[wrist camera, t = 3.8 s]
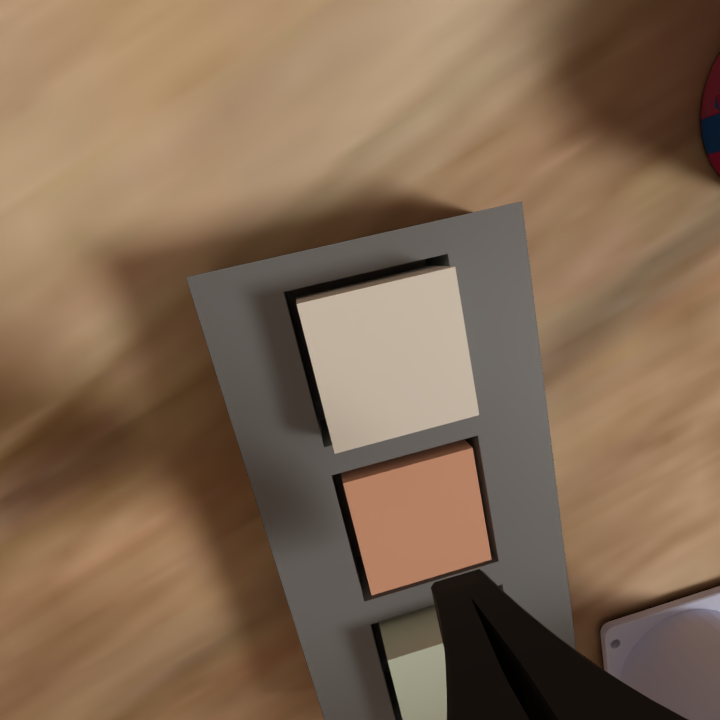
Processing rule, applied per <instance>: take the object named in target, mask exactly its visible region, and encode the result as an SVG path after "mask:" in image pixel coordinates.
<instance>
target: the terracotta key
mask: <svg viewBox="0 0 720 720" xmlns="http://www.w3.org/2000/svg"><path fill="white" fill-rule="evenodd" d="M341 477H342V481H343V485H344V489H345V493H346V497H347V501H348V505H349V509H350V513H351V517H352V521H353V525H354V529H355V532H356V536H357V540H358V544H359V548H360V552H361V556H362V560H363V564H364V568H365V572H366V576H367V580H368V583H369V587H370V591H371V595H375V594H378V593H382V592H385V591H388V590H392V589H395V588H398V587H402V586H405V585H408V584H412V583H415V582H418V581H422V580H425V579H428V578H432V577H435V576H438V575H442V574H445V573H448V572H452V571H455V570H458V569H462V568H465V567H468V566H472V565H475V564H478V563H482V562H485V561H488V560H492V559H491V553H490V547H489V541H488V535H487V530H486V524H485V518H484V512H483V506H482V500H481V494H480V488H479V482H478V477H477V471H476V465H475V459H474V453H473V448H472V447H471V446H470V445H469V443H468V442H467V441H466V440H465V439H463V440H459V441H456V442H452V443H448V444H445V445H441V446H437V447H434V448H430V449H426V450H423V451H419V452H415V453H412V454H408V455H404V456H401V457H397V458H393V459H390V460H386V461H382V462H379V463H375V464H371V465H368V466H364V467H360V468H357V469H353V470H349V471H346V472H342V473H341Z"/></svg>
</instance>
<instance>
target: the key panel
mask: <svg viewBox="0 0 720 720" xmlns="http://www.w3.org/2000/svg"><path fill="white" fill-rule="evenodd" d="M427 266H453V267H455V268H456V274H457V280H458V287H459V293H460V299H461V305H462V311H463V317H464V323H465V330H466V336H467V342H468V348H469V354H470V360H471V367H472V373H473V379H474V385H475V391H476V397H477V404H478V410H479V415H478V416H474V417H470V418H467V419H463V420H459V421H455V422H452V423H448V424H444V425H441V426H437V427H433V428H429V429H426V430H422V431H418V432H414V433H411V434H407V435H403V436H400V437H396V438H392V439H388V440H385V441H381V442H377V443H374V444H370V445H366V446H362V447H359V448H355V449H351V450H347V451H344V452H340V453H336V454H335V453H334V449H333V445H332V441H331V437H330V433H329V429H328V426H327V422H326V418H325V414H324V410H323V406H322V402H321V398H320V394H319V390H318V386H317V383H316V379H315V375H314V371H313V367H312V363H311V359H310V355H309V351H308V347H307V343H306V339H305V336H304V332H303V328H302V324H301V320H300V316H299V312H298V308H297V304H296V297H299V296H303V295H308V294H312V293H316V292H321V291H325V290H329V289H333V288H338V287H342V286H346V285H350V284H355V283H359V282H363V281H367V280H372V279H376V278H380V277H384V276H389V275H393V274H397V273H402V272H406V271H410V270H414V269H419V268H423V267H427ZM186 279H187V282H188V285H189V289H190V292H191V295H192V298H193V301H194V305H195V308H196V311H197V314H198V317H199V321H200V324H201V327H202V330H203V333H204V337H205V340H206V343H207V346H208V349H209V352H210V356H211V359H212V362H213V365H214V368H215V372H216V375H217V378H218V381H219V384H220V388H221V391H222V394H223V397H224V400H225V404H226V407H227V410H228V413H229V416H230V419H231V423H232V426H233V429H234V432H235V435H236V439H237V442H238V445H239V448H240V451H241V455H242V458H243V461H244V464H245V467H246V471H247V474H248V477H249V480H250V483H251V487H252V490H253V493H254V496H255V499H256V502H257V506H258V509H259V512H260V515H261V518H262V522H263V525H264V528H265V531H266V534H267V538H268V541H269V544H270V547H271V550H272V554H273V557H274V560H275V563H276V566H277V570H278V573H279V576H280V579H281V582H282V585H283V589H284V592H285V595H286V598H287V601H288V605H289V608H290V611H291V614H292V617H293V621H294V624H295V627H296V630H297V633H298V637H299V640H300V643H301V646H302V649H303V653H304V656H305V659H306V662H307V665H308V668H309V672H310V675H311V678H312V681H313V684H314V688H315V691H316V694H317V697H318V700H319V704H320V707H321V710H322V713H323V716H324V720H403V719H402V715H401V711H400V707H399V703H398V699H397V696H396V692H395V688H394V684H393V680H392V676H391V672H390V668H389V664H388V660H387V656H386V652H385V647H384V643H383V639H382V635H381V630H380V626H379V622H381V621H384V620H387V619H390V618H394V617H397V616H400V615H403V614H407V613H410V612H413V611H417V610H420V609H423V608H426V607H430V606H433V605H434V600H433V595H432V591H431V586H432V585H433V583H434V582H437V581H440V580H444V579H447V578H450V577H454V576H457V575H460V574H464V573H467V572H470V571H474V570H477V569H480V570H482V571H483V572H484V573H485V574H486V575H487V576H488V577H489V578H490V579H491V580H492V581H493V582H495V583H496V584H497V585H498V586H499V587H500V588H501V589H502V590H503V591H504V592H505V593H506V594H507V595H508V596H510V597H511V598H512V599H513V600H514V601H515V602H516V603H517V604H519V605H520V606H521V607H522V608H523V609H524V610H526V611H527V612H528V613H529V614H530V615H532V616H533V617H534V618H535V619H536V620H538V621H539V622H540V623H541V624H543V625H544V626H545V627H546V628H547V629H549V630H550V631H551V632H552V633H554V634H555V635H556V636H558V637H559V638H560V639H561V640H563V641H564V642H565V643H567V644H568V645H570V646H571V647H572V648H574V649H575V650H576V643H575V635H574V627H573V619H572V610H571V602H570V594H569V586H568V577H567V569H566V561H565V553H564V544H563V536H562V528H561V520H560V511H559V503H558V495H557V486H556V478H555V470H554V462H553V453H552V445H551V437H550V429H549V420H548V412H547V404H546V396H545V387H544V379H543V371H542V363H541V354H540V346H539V338H538V330H537V321H536V313H535V305H534V297H533V288H532V280H531V272H530V264H529V255H528V247H527V239H526V231H525V222H524V214H523V206H522V202H517V203H513V204H508V205H504V206H499V207H495V208H491V209H486V210H482V211H477V212H473V213H468V214H464V215H459V216H455V217H451V218H446V219H442V220H437V221H433V222H428V223H424V224H420V225H415V226H411V227H406V228H402V229H397V230H393V231H388V232H384V233H380V234H375V235H371V236H366V237H362V238H357V239H353V240H349V241H344V242H340V243H335V244H331V245H326V246H322V247H318V248H313V249H309V250H304V251H300V252H295V253H291V254H286V255H282V256H278V257H273V258H269V259H264V260H260V261H255V262H251V263H247V264H242V265H238V266H233V267H229V268H224V269H220V270H216V271H211V272H207V273H202V274H198V275H193V276H189V277H186ZM463 439H465V440H466V441H467V442H468V443H469V445H470V446H471V447H472V448H473V453H474V459H475V465H476V471H477V477H478V482H479V488H480V494H481V500H482V506H483V512H484V518H485V524H486V530H487V535H488V541H489V547H490V553H491V559H492V560H488V561H485V562H482V563H478V564H475V565H472V566H468V567H465V568H462V569H458V570H455V571H452V572H448V573H445V574H442V575H438V576H435V577H432V578H428V579H425V580H422V581H418V582H415V583H412V584H408V585H405V586H402V587H398V588H395V589H392V590H388V591H385V592H382V593H378V594H375V595H371V591H370V587H369V583H368V580H367V576H366V572H365V568H364V564H363V560H362V556H361V552H360V548H359V544H358V540H357V536H356V532H355V529H354V525H353V521H352V517H351V513H350V509H349V505H348V501H347V497H346V493H345V489H344V485H343V481H342V477H341V473H342V472H346V471H349V470H353V469H357V468H360V467H364V466H368V465H371V464H375V463H379V462H382V461H386V460H390V459H393V458H397V457H401V456H404V455H408V454H412V453H415V452H419V451H423V450H426V449H430V448H434V447H437V446H441V445H445V444H448V443H452V442H456V441H459V440H463Z"/></svg>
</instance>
